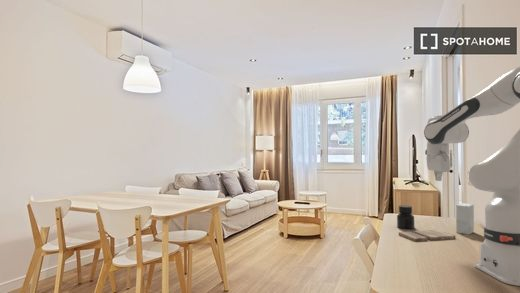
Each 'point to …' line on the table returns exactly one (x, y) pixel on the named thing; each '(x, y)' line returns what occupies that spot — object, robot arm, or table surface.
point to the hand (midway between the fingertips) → (438, 180)
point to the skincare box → (465, 218)
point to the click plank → (435, 234)
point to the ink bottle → (405, 217)
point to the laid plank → (413, 236)
